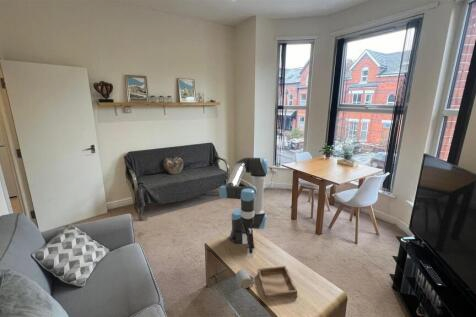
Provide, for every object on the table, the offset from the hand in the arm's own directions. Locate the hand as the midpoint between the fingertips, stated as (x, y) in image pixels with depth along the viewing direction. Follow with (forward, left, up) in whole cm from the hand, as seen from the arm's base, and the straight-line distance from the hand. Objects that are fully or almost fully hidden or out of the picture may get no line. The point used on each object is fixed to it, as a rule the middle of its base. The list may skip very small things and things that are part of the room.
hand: (247, 250), depth 134 cm
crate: (+5, +16, -22) cm, 28 cm away
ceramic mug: (+1, -1, -22) cm, 22 cm away
